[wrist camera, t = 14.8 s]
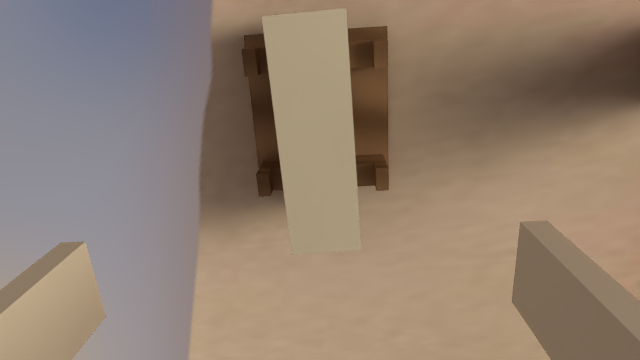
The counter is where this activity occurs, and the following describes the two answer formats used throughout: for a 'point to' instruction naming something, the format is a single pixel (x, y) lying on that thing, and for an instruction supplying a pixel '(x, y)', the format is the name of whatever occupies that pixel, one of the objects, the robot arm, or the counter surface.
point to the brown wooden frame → (366, 103)
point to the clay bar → (314, 128)
